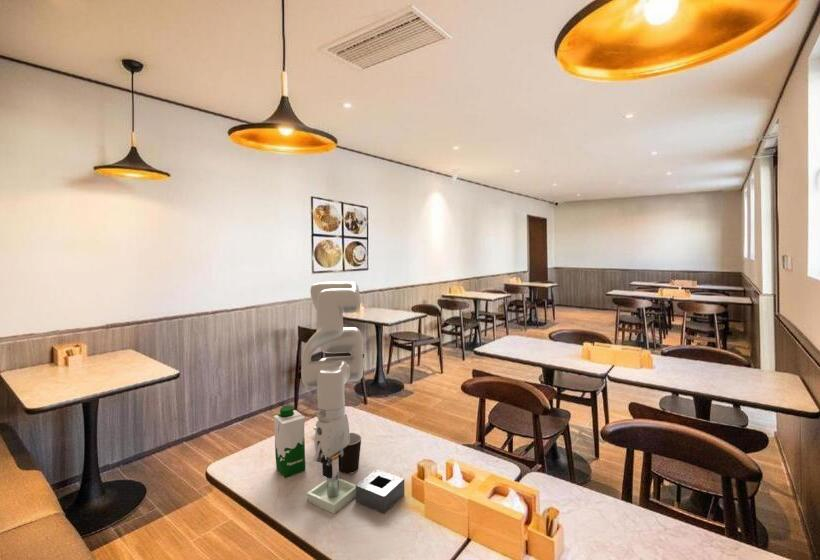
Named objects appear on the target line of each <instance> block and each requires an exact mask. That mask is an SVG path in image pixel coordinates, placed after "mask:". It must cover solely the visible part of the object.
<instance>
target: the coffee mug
mask: <svg viewBox="0 0 820 560" xmlns="http://www.w3.org/2000/svg"><path fill="white" fill-rule="evenodd" d="M349 434H350V442H349V444H348V446H346V447H345V450H344V455H343V457H342V471H339V473H342V474H346V475H348V474H354V473H355V472H357V471H358V470H359V463H360V455H361V454H360V453H361V445H362V436H361V435H360V434H358V433H355V432H349Z"/></svg>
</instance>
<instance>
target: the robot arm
mask: <svg viewBox="0 0 820 560" xmlns="http://www.w3.org/2000/svg"><path fill="white" fill-rule="evenodd" d="M309 291H310V298H311V302H312V305H314V308H315V310H316V332H314V333H313V334H312V335H311V337H310V338H309V339H308V340H307V342H306V343H305V345H304V347H303V350H302V354H301V369H300V371H301V374H300V375H301V381H302V384H303V386H305V387H307V388H317V390H316V391H317V394H316V395H317V414H316V418H317V419H316V423H315V426H314V427H313V430H314V431H315V433H314V434H315V436H314V449H315V453H314V457H313V461H314V462H318V463H321V465H322V476H323V477H324V478H326V479H327V478H330V479H331V478H332V464H330V463H331V456H332V455H334V454H336V453H337V452H338V454H339V472H340V471H342V457H343V455H344V450H345V447H346V446H348V444H349V442H350V434H349V433H350V426H349V420H348V419H349V418H348V414H347V412H346V404H345V402H346V400H345V397H346V396H345V385H346V383H347V382H348V383H349V382H350V383H351V382H357V381H360V380H362V378H363V375H364V358H363V357H364V355H363V353H364V352H363V336H362V332H361V330H360V329H359V328H358V327H355V326H348V327H344V314H350V313H351V314H353V313H357V312H358V311H359V310H360V308H361V294H360V290H359V286H358V284H357V282H355V281H323V282H316V283H313V284H312V285H311V286H310V290H309ZM318 348H320V351H321V352H322V353H325V354H342V353H343V354H346V353H348V354H350V355H344V356H343V355H342V356H338V355H337V356H326V357H322V358H320V359H319V360H318V361H317V360H316V361H312V356H313V354H314V352H315V351H316V350H318ZM326 457H327V460H326Z"/></svg>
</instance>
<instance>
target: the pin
mask: <svg viewBox="0 0 820 560" xmlns="http://www.w3.org/2000/svg"><path fill="white" fill-rule="evenodd" d="M325 459H326V460H327V457H326V456H325ZM330 464H332V478H331V479H330V478H327V477H326V479H327V495H328V496H329V497H336V496H338V495H339V493H340V491H339V478H340V471H339V454H338V452H337V453H336V454H334V455H332V456H331V463H330Z"/></svg>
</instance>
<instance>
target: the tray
mask: <svg viewBox="0 0 820 560" xmlns="http://www.w3.org/2000/svg"><path fill="white" fill-rule="evenodd" d="M356 485H357V484H355V483H353V482H351V481H350V482H349V481H347V480H345V479H342V478H340V477H339V491H340V493H339V495H338V496H336V497H329V496H328V495H327V478H326V479H325V480H323V481H322V482H321V483H319V484H317V485H316V486H314V488H312V489H310V490H309V491H308V492H306V502H307V503H308V504H309V503H310V504H312V505H314V506H315V507H316V506H317V507H318V508H321V509H322V510H325V511H327V512H329V513H331V514H334V515H335V514H336V513H337V512H339V511H340V510H341V509H342V508H343V507H344V506H346V505H348V503H350V502H351V501H352V500H353V499H354V498H356Z"/></svg>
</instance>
